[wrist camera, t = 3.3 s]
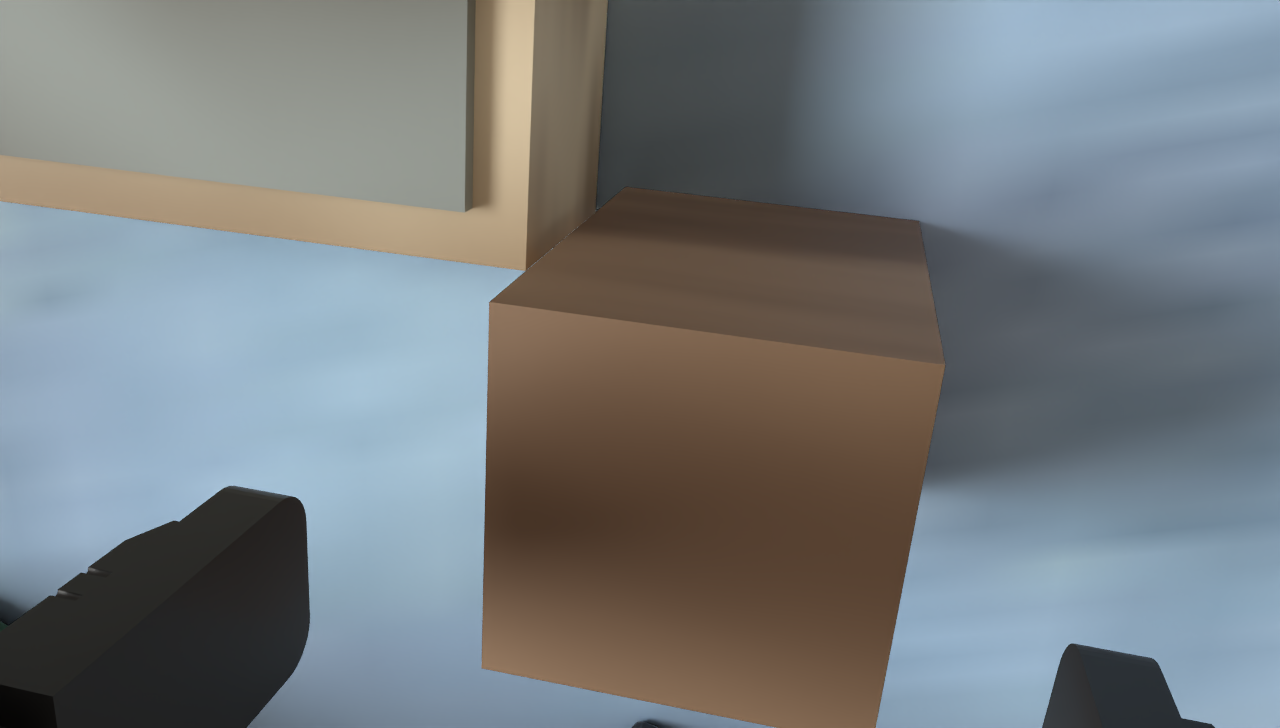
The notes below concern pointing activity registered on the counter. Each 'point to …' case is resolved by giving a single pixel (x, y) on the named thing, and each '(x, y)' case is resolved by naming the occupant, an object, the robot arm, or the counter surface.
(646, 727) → the box
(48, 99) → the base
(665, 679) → the walnut block
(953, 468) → the counter surface
